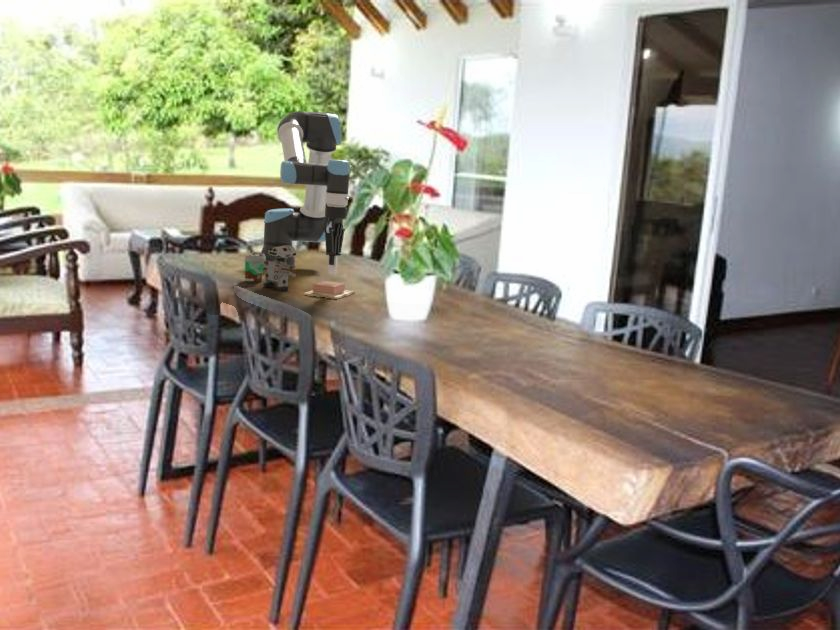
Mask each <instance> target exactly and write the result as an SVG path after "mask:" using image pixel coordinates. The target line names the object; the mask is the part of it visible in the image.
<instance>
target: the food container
mask: <svg viewBox="0 0 840 630" xmlns="http://www.w3.org/2000/svg"><path fill="white" fill-rule="evenodd" d="M251 253H252V254H249V255H245V256H244V265H245V266H244V284H259V283H262V282H263V274H264V269H263V267H264V261H265V260H266V257H265V254H263V253H261V252H258V251H252V252H251Z"/></svg>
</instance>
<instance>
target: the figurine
mask: <svg viewBox="0 0 840 630" xmlns="http://www.w3.org/2000/svg"><path fill="white" fill-rule="evenodd" d="M268 253H269V255H272V256H275V260H274V261H273V262H272V261H269V262H268V265H267V259H270V258H267V259H266V260H265V262H264V266H263V270H266V273H265V276H264V281H263V287H264V288H274V287H276V282H277V287H276V290H277V291H278V292H283V291H288V290H289V288H290V287H289V276H291V277H292V278H293V279H295V278H296V275H297V271H296V272H295V273H294V272H292V271H291V270H292V268H291V267H292V266H291V265H287V263H286V260H287V259H288V258H287V257H291V256H294V257H296V256H297V253H298V252H297V250H296V249H295V247H294V245H292V246H290V245H283V246H279V247H274V248H271V249H270V250H269V251H268ZM277 259H278V260H285V262H282V261H277ZM270 260H271V259H270Z"/></svg>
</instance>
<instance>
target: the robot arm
mask: <svg viewBox="0 0 840 630" xmlns="http://www.w3.org/2000/svg"><path fill="white" fill-rule="evenodd" d="M276 133H277V138H278V140H279V141H280V142H281V148H282V152H283V153H282V154H283V159H284V160H283V161H282V162H281V163H280V169H279V171H280V172H279V173H280V176H279V177H280V181H281V183H284V184H289V185H305V195H304V202H303V203H304V204H303V205H302V206H301V207H300V209H299V212H295V210H294V208H274V209H273V208H272V209H269V210H267V211H265V213H264V220H263V223H264V226H263V227H264V229H263V244H262V245H263V246H262V249H261V252H260V253H263V254H265V257H266V259H267V258H270V259H271V260H270V259H267V265H268V262H269V261H272V262H273V261H274V260H275V256H272V255H269V253H268V251H269V250H270V249H271V248H274V247H279V246H283V245H290V246H293V242H308V243H309V242H310V243H325V255H326V256H328V266H327V274H328V275H333V276H335V275H338V261H339V256H341V255H342V247H343V243H344V235H345V231H346V228H345V229H344V228H343V225H344V221H343V219H347V217H348V207H347V206H348V205H349V204H348V201H349V200H350V197H349V187H350V175H351V174H350V173H351V162H350V161H348V160H343V159H332V154H333V153H334V152H336V150H337V146H340V145H341V144H342V125H341V120H340V117H339V116H338V115H337V114H333V113H328V112H316V111H315V112H314V111H305V110H297V111H293V112H290V113H289V114H287V115H285V116H284V117H283V118H282V119H281V120H280V121H279V124H278V126H277V132H276ZM303 143H306V148H307V149H308V150H309V155H308V162H307V158H306V153H305V148H304V144H303ZM346 216H347V217H346ZM295 257H296V256H291V257H287V258H288V259H287V260H286V263H287V265H291V266H292V267H291V269H292V268H295V267H296V262H297V261H296V258H295ZM277 261H282V262H285V260H278V259H277ZM264 262H265V261H264Z"/></svg>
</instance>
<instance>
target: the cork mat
mask: <svg viewBox="0 0 840 630" xmlns="http://www.w3.org/2000/svg"><path fill="white" fill-rule="evenodd" d="M355 292H356V291H355V290H348V289H345V291H344V292H343V293H340V294H337V295H334V296H333V295H326V294H319V293H313V292H312V290H309V291H306V292H303V296H306V295H307V297H313V296H316V297H315V298H320V297H325V298H324V299H327V298H331V299H330V300H334V299H337V300H339V298H340V299H342V297H343V298H345V296H346V297H348V296H351V295H354V294H355Z"/></svg>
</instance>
